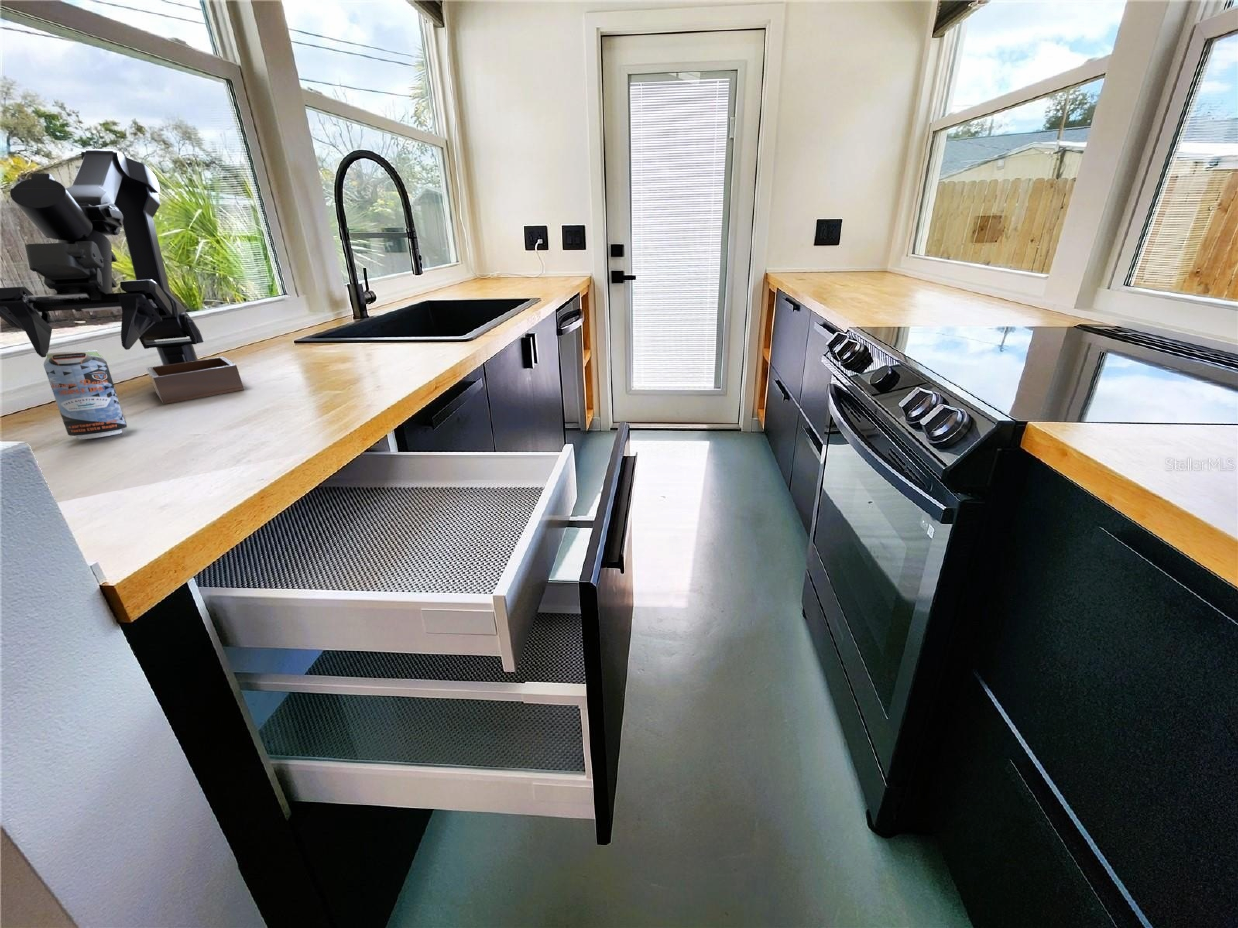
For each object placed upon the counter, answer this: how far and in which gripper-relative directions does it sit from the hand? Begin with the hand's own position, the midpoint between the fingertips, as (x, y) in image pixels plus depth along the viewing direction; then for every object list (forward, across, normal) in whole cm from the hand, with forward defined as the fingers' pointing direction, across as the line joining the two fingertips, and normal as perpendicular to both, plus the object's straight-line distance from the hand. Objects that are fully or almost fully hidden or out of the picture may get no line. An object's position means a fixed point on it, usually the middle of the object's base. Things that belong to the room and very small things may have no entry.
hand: (84, 351), depth 74 cm
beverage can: (+11, 0, +5) cm, 12 cm away
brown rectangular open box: (-5, +6, +21) cm, 22 cm away
